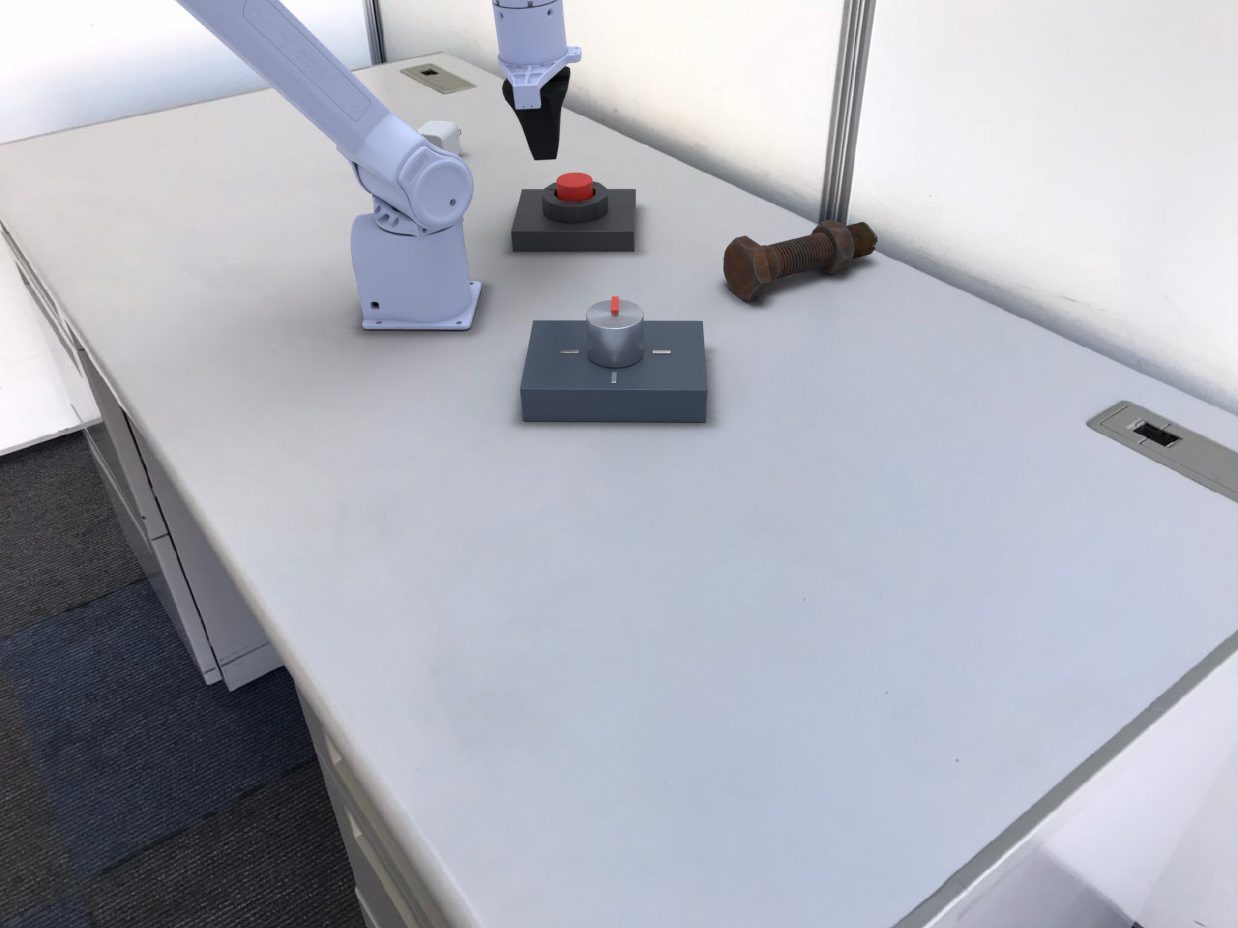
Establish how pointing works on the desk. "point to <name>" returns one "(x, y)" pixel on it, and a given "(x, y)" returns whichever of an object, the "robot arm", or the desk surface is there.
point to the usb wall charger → (442, 135)
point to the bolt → (794, 256)
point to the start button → (574, 187)
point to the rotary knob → (615, 333)
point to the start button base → (575, 221)
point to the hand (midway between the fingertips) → (545, 157)
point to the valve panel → (615, 376)
